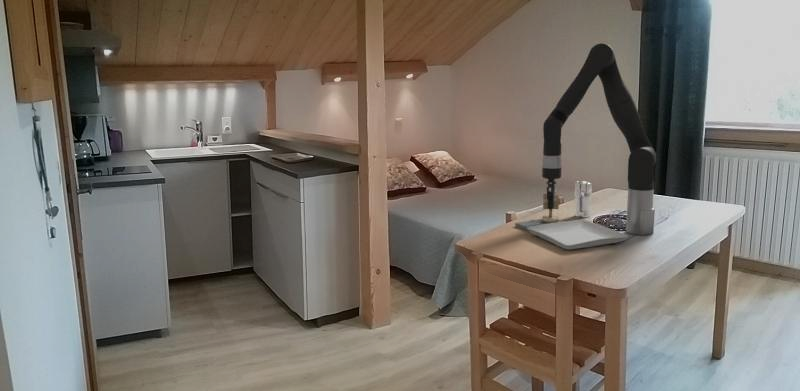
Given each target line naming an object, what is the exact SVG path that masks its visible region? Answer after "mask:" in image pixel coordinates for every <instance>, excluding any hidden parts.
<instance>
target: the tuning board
mask: <svg viewBox="0 0 800 391" xmlns="http://www.w3.org/2000/svg"><path fill="white" fill-rule="evenodd" d="M535 220H542V218H538V219H537V218H536V219H535ZM558 222H564V220H560V219H558ZM514 224H515V225H514V227H516V228H518V229H521V230H524V231H527V232H530V231H529V230H528V229H527V228H526V227H531V226H537V225H542V224H549V223H544V222H542V221H530V220H526V221H525V220H524V221H518V222H515V223H514Z"/></svg>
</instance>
